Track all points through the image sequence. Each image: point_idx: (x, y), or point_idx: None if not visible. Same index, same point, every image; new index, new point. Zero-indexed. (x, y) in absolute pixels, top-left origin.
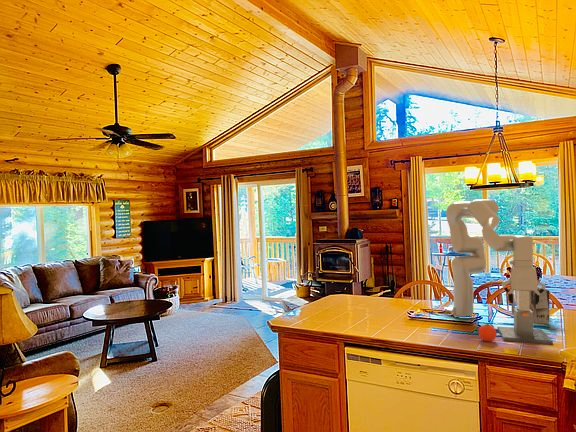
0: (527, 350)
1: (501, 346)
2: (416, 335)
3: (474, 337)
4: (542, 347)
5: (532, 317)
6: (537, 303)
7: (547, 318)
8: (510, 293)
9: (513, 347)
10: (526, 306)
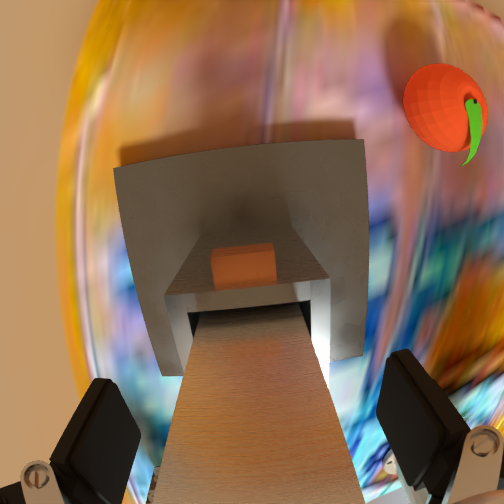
0: (253, 12)
1: (365, 40)
2: None
3: None
4: (174, 86)
5: (182, 275)
6: (96, 382)
7: (156, 480)
8: (469, 442)
9: (314, 36)
10: (224, 348)
